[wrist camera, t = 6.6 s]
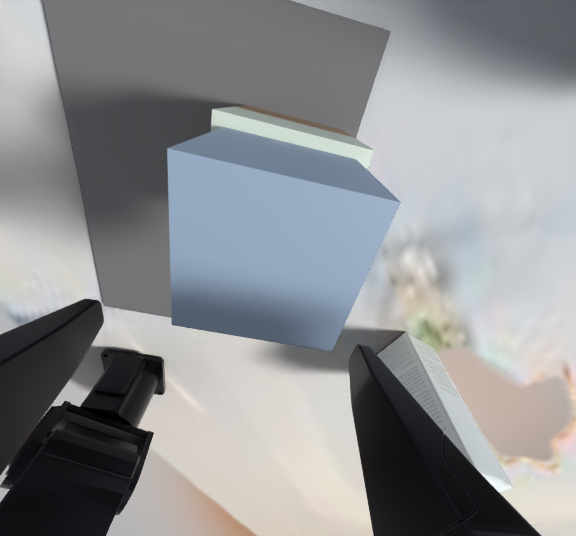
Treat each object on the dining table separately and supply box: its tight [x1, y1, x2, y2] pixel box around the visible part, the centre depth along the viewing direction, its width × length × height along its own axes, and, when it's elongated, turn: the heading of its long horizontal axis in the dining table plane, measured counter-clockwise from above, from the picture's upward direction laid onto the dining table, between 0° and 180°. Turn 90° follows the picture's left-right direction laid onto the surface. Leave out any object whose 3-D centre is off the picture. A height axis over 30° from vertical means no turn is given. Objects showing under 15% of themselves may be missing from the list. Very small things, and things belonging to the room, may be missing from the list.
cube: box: [167, 127, 401, 352], centre depth 9 cm, size 5×5×5 cm
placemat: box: [43, 0, 391, 318], centre depth 20 cm, size 24×18×1 cm
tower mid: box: [211, 107, 374, 169], centre depth 13 cm, size 6×6×4 cm
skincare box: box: [377, 332, 513, 492], centre depth 23 cm, size 6×4×12 cm
